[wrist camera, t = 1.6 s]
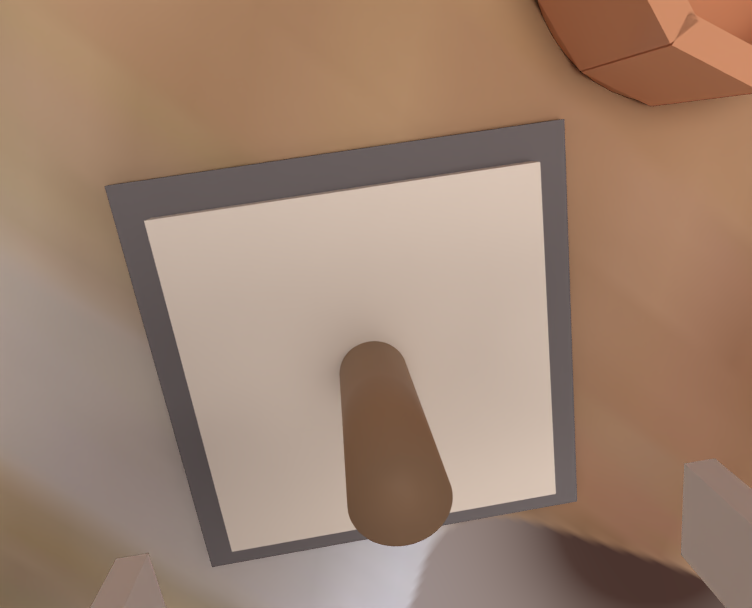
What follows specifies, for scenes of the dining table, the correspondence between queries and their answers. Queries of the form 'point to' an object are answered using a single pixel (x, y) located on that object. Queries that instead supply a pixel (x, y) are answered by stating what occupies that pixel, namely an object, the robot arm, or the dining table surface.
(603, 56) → the bowl
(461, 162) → the mat
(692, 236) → the dining table surface
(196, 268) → the lid
